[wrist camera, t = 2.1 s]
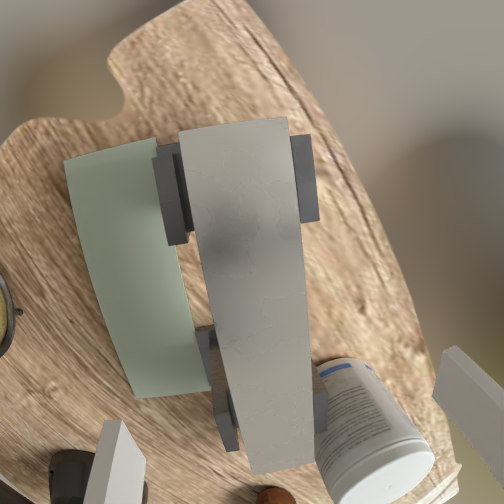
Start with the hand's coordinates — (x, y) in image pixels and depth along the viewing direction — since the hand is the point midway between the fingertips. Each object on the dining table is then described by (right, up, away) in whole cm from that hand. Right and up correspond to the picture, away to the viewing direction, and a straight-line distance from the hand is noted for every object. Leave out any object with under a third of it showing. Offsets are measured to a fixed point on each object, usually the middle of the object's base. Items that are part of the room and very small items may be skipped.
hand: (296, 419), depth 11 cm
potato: (+2, -31, +28) cm, 42 cm away
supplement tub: (+7, -9, +22) cm, 25 cm away
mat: (-11, +3, +16) cm, 20 cm away
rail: (-1, +3, +9) cm, 9 cm away
